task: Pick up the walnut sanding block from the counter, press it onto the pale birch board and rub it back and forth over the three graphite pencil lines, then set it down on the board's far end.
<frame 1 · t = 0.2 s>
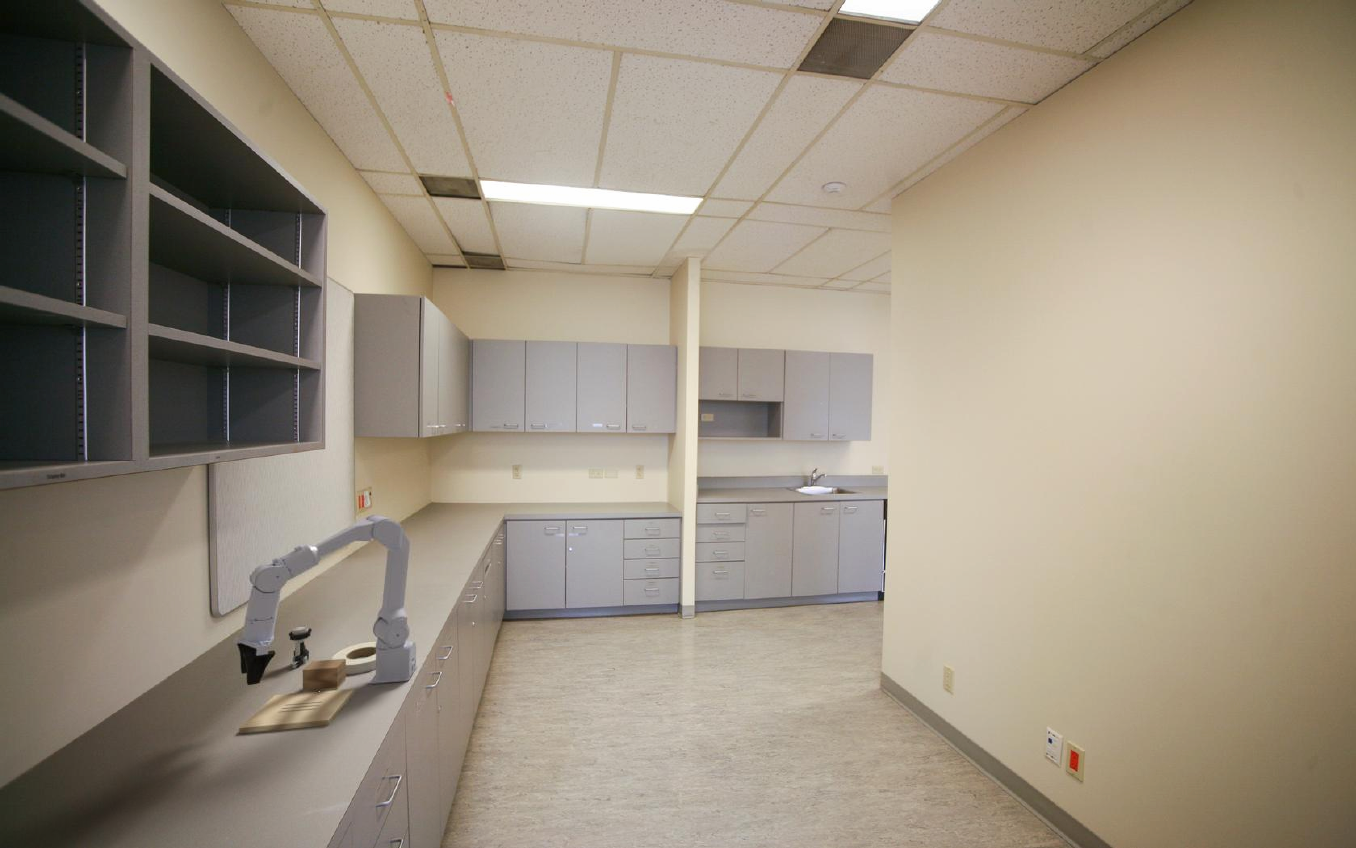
hand: (250, 678, 119), 11 cm above the counter, tool pointing down, fingers open, 7 cm apart
sanding block: (324, 687, 136), on the counter
board: (300, 712, 124), on the counter
roll of tape: (363, 663, 151), on the counter
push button: (299, 664, 148), on the counter
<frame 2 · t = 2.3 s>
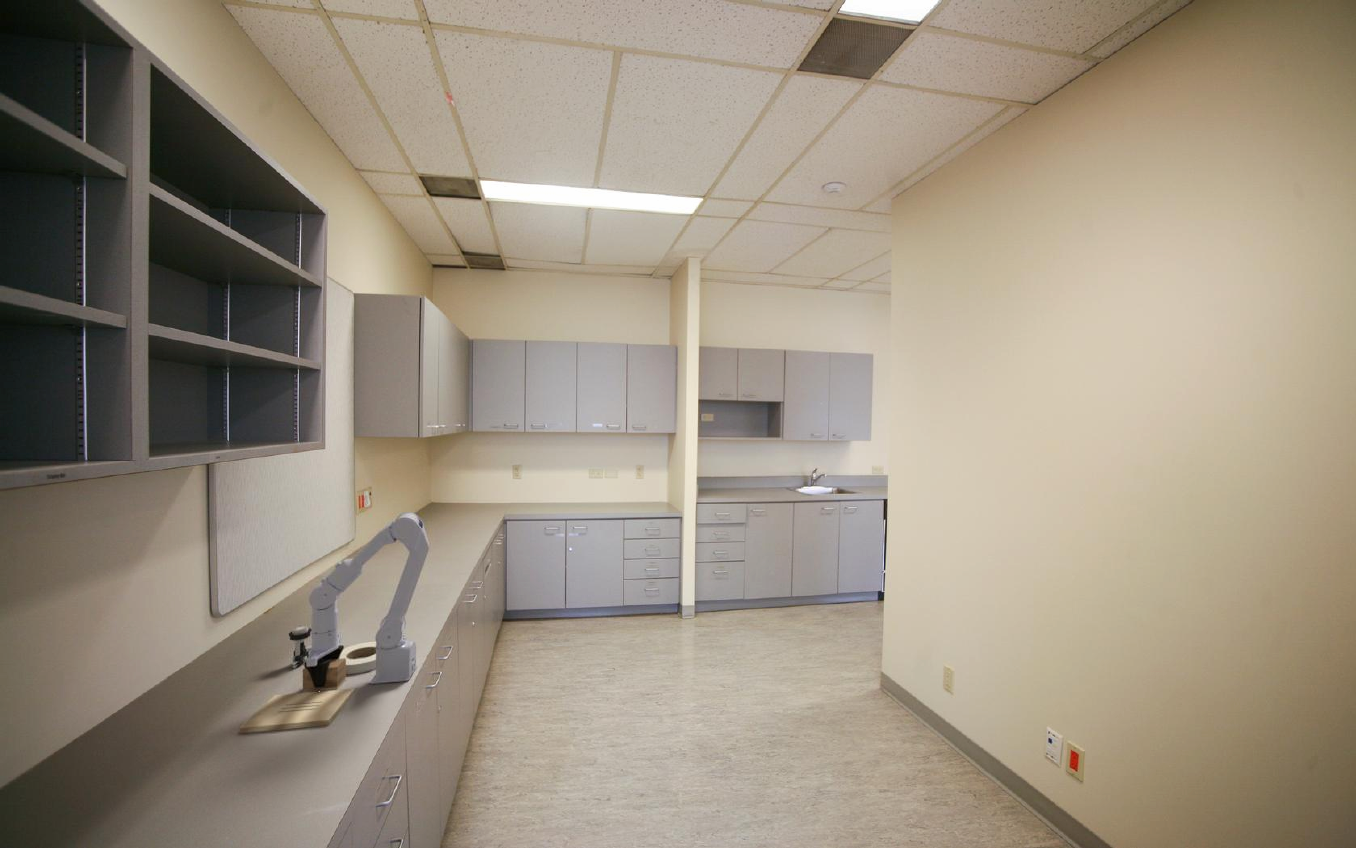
hand: (324, 681, 136), 1 cm above the counter, tool pointing down, fingers closed on sanding block, 5 cm apart
sanding block: (324, 686, 136), on the counter, touching gripper
everything else where it was.
when the fingers open (3 cm above the counter, at t = 11.6 s): sanding block stays where it is, resting on board.
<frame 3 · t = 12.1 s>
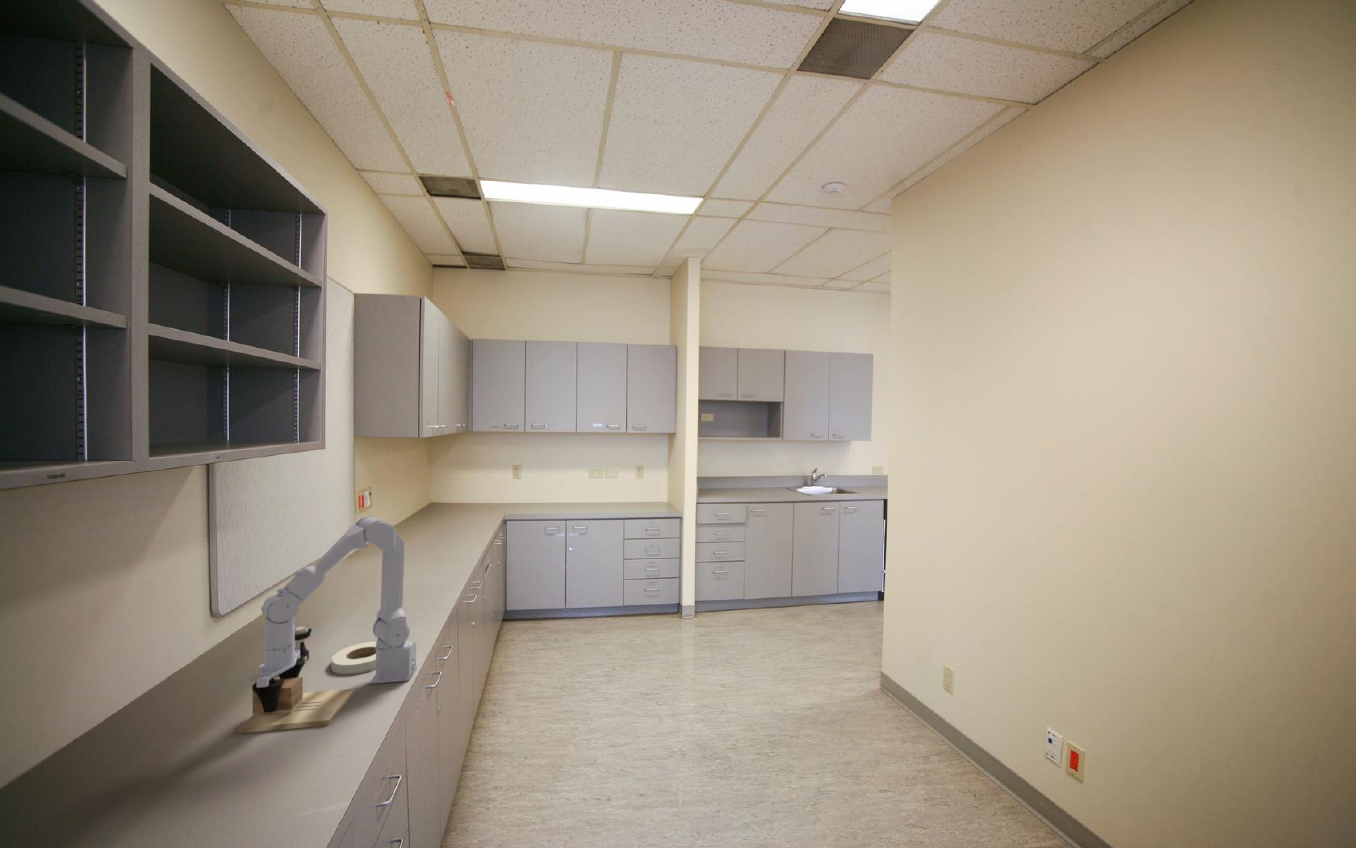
hand: (279, 702, 123), 3 cm above the counter, tool pointing down, fingers open, 7 cm apart
sanding block: (278, 709, 123), point 1 cm above the counter, touching board
everything else where it was.
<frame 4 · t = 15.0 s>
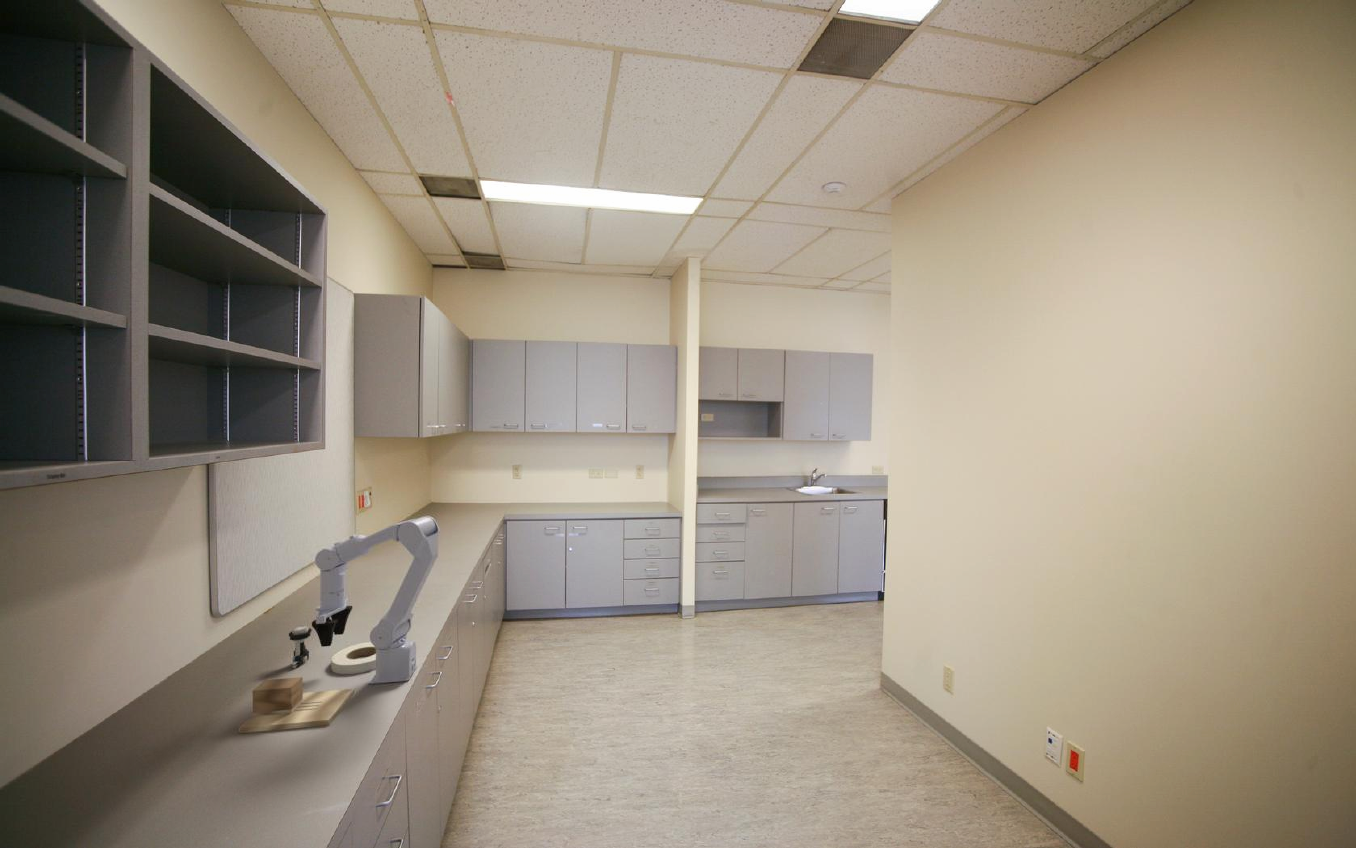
hand: (332, 640, 143), 9 cm above the counter, tool pointing down, fingers open, 7 cm apart
nothing on the counter moved.
at the end: sanding block inside the target area (0.6 cm from its centre), point 1.2 cm above the counter; sanding block tilted 0°; the gripper is holding nothing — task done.
